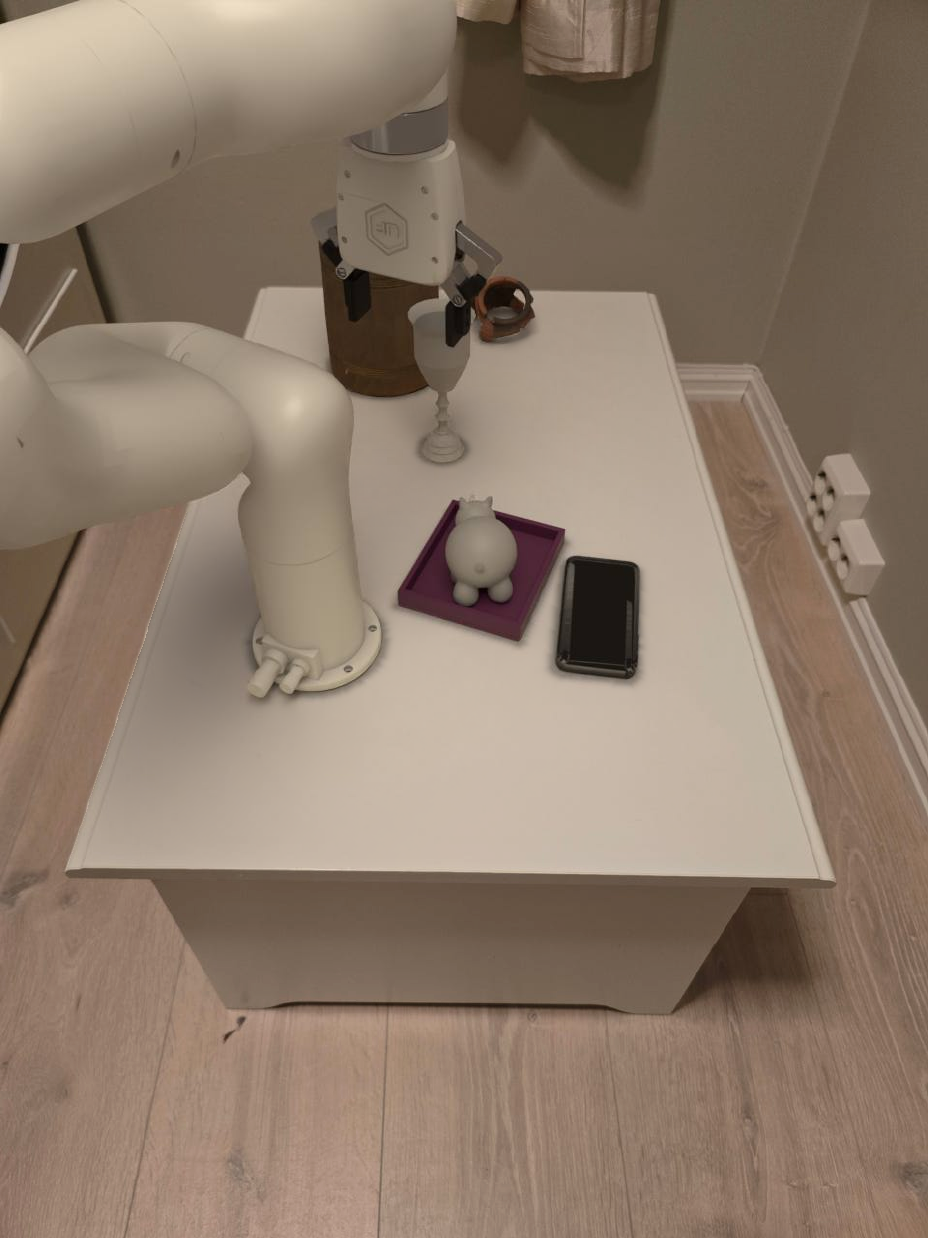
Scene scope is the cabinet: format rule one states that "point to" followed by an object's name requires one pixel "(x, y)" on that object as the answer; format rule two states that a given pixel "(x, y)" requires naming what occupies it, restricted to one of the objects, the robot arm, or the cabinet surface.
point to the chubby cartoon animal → (480, 553)
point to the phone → (599, 617)
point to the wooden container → (374, 334)
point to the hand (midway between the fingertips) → (407, 326)
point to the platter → (434, 588)
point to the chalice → (439, 371)
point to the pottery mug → (502, 295)
